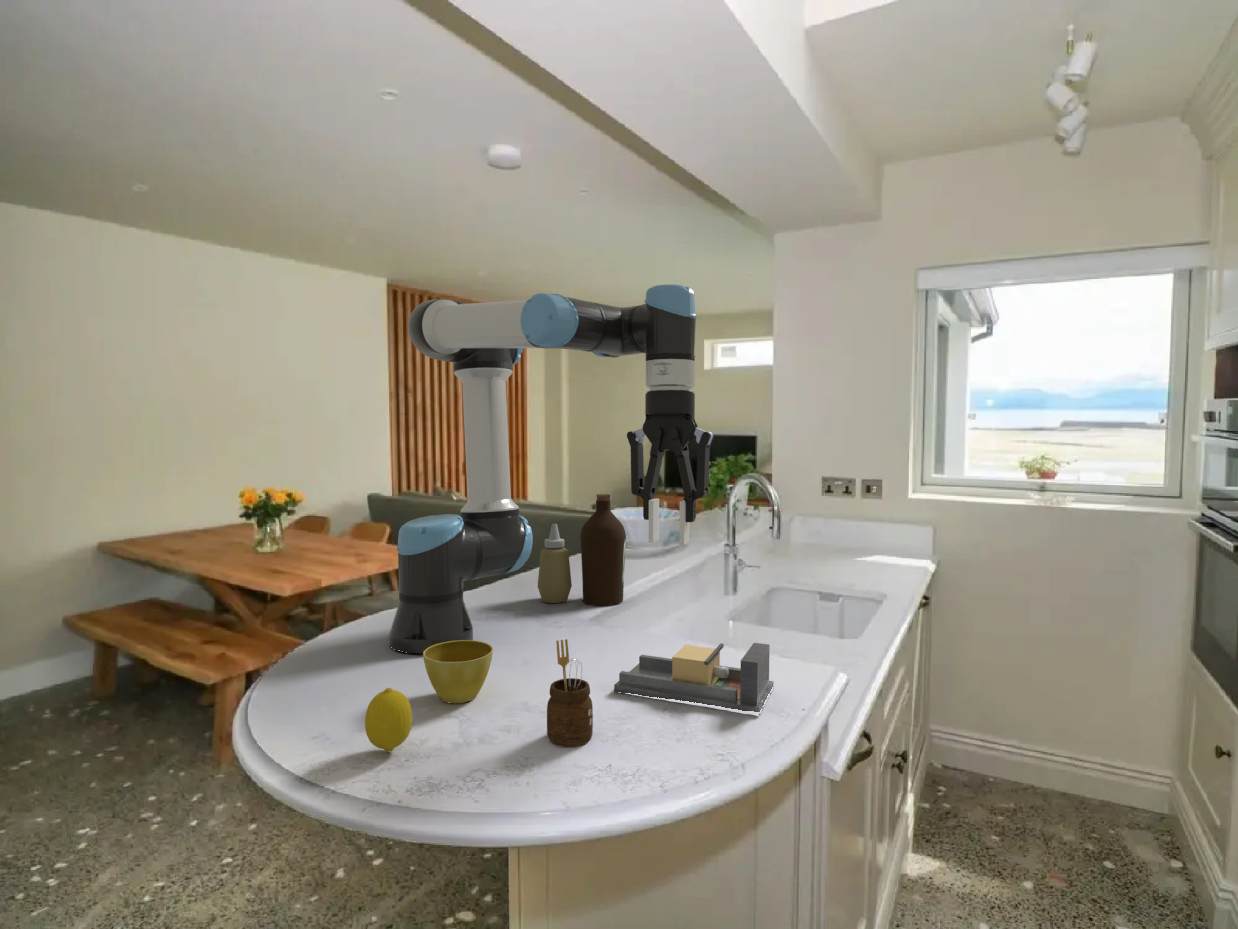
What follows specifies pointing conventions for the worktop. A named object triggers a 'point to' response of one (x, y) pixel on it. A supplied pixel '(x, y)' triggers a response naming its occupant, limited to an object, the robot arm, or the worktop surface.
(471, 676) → the yellow bowl
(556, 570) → the squeeze bottle
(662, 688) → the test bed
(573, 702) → the utensil holder
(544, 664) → the worktop surface
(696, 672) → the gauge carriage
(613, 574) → the olive oil
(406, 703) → the lemon
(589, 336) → the robot arm
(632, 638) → the worktop surface
